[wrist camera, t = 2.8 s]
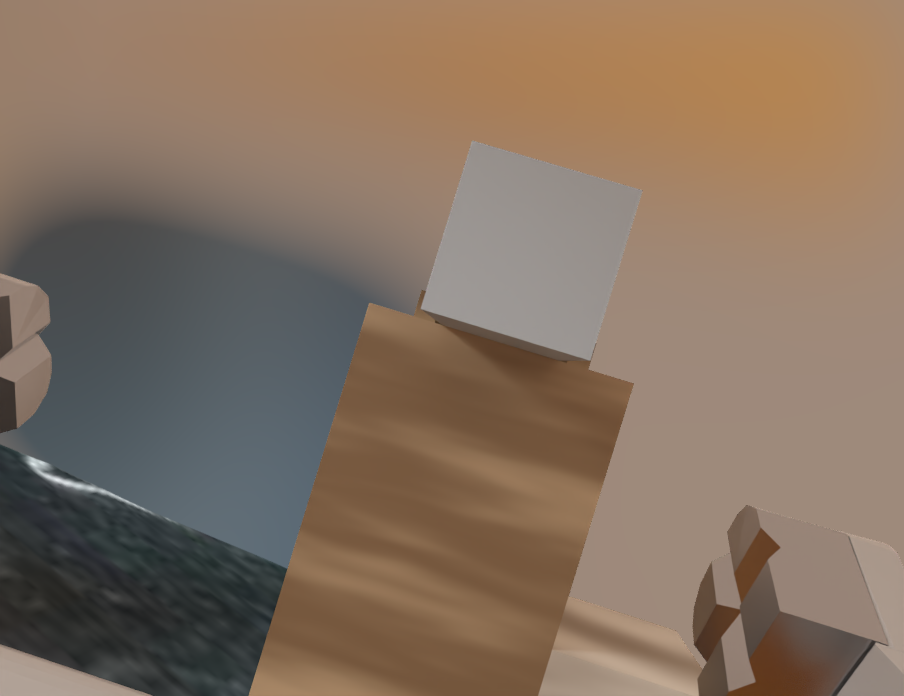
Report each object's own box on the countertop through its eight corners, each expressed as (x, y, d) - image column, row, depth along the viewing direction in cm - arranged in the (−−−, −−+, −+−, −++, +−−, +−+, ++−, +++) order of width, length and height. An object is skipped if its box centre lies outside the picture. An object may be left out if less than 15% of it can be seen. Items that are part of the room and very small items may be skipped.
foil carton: (590, 360, 20) (643, 190, 20) (420, 308, 20) (471, 140, 20) (540, 360, 40) (566, 276, 40) (455, 334, 40) (481, 250, 40)
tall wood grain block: (596, 1138, 28) (819, 410, 28) (160, 983, 29) (377, 276, 29) (564, 906, 40) (721, 395, 40) (257, 801, 41) (410, 301, 41)
